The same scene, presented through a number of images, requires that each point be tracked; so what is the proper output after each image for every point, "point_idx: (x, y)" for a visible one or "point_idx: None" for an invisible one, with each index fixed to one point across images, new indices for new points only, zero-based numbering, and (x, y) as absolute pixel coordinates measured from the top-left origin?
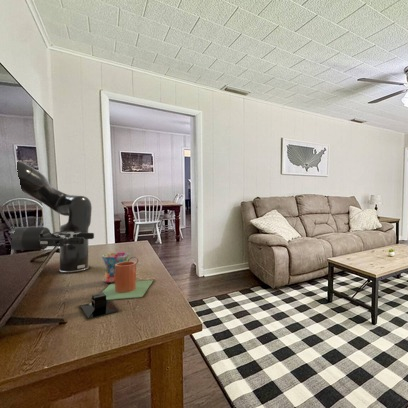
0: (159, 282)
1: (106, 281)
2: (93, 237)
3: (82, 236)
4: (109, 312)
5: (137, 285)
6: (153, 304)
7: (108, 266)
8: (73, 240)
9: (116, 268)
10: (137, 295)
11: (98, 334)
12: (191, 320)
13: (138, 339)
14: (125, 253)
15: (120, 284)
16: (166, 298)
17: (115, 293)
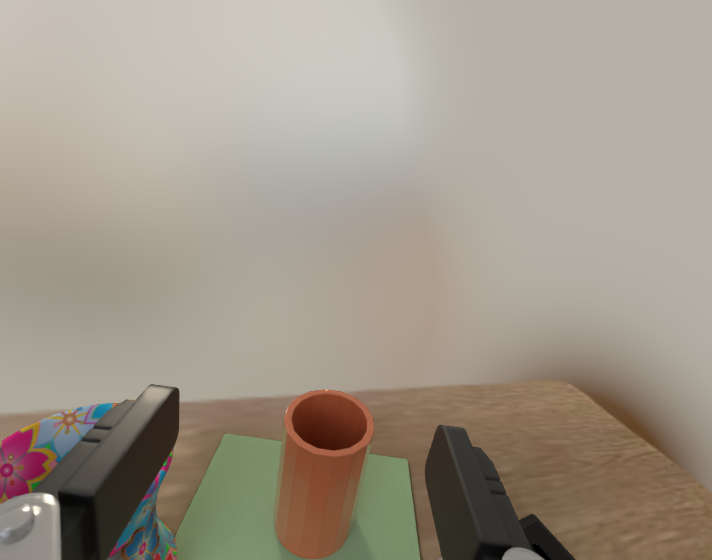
0: (260, 419)
1: None
2: (173, 424)
3: (115, 511)
4: (552, 536)
5: (271, 478)
6: (469, 434)
7: (120, 555)
8: (507, 519)
9: (358, 460)
10: (395, 471)
11: (686, 542)
12: (550, 383)
13: (661, 457)
14: (37, 430)
15: (356, 503)
16: (426, 409)
17: (349, 551)
